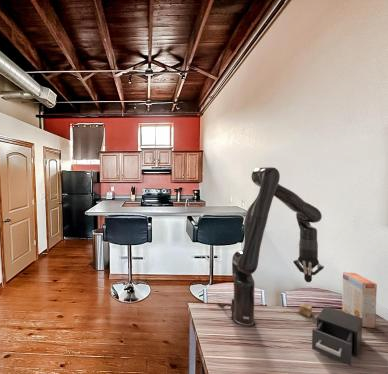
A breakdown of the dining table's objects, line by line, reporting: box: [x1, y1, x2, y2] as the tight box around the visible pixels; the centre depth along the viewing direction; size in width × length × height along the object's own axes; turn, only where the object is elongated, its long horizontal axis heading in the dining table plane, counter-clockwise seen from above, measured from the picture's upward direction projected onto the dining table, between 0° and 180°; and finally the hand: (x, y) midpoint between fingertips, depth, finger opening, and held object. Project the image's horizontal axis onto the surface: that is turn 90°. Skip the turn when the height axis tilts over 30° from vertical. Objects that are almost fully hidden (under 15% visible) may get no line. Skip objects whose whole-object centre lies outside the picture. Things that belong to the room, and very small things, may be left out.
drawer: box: [311, 321, 354, 367], centre depth 90 cm, size 18×11×8 cm, turn 130°
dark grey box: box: [316, 305, 363, 357], centre depth 99 cm, size 15×13×10 cm
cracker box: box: [341, 271, 378, 329], centre depth 114 cm, size 14×6×21 cm, turn 168°
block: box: [299, 302, 313, 318], centre depth 118 cm, size 4×4×4 cm
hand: (308, 281), depth 117 cm, fingers closed
